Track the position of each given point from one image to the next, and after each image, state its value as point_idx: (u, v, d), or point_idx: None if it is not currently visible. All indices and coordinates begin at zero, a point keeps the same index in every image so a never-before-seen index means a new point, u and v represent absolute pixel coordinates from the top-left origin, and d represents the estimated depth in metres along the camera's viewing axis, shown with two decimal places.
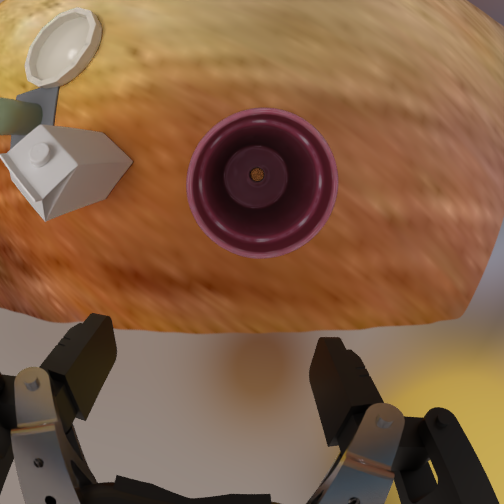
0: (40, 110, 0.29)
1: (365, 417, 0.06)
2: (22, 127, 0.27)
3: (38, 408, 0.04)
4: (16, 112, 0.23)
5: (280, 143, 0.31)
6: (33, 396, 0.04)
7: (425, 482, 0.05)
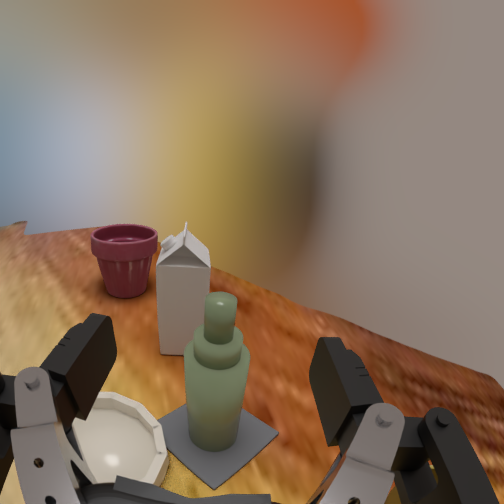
0: None
1: (365, 417, 0.06)
2: None
3: (38, 408, 0.04)
4: None
5: None
6: (33, 396, 0.04)
7: (425, 482, 0.05)
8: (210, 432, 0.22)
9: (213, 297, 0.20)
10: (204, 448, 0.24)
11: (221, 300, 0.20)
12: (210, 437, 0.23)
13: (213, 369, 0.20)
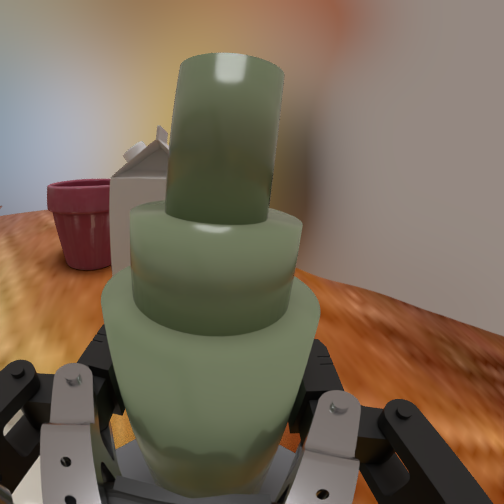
0: None
1: (318, 403, 0.06)
2: None
3: (85, 404, 0.05)
4: None
5: None
6: (72, 393, 0.05)
7: (396, 473, 0.05)
8: None
9: None
10: None
11: None
12: None
13: (196, 334, 0.05)
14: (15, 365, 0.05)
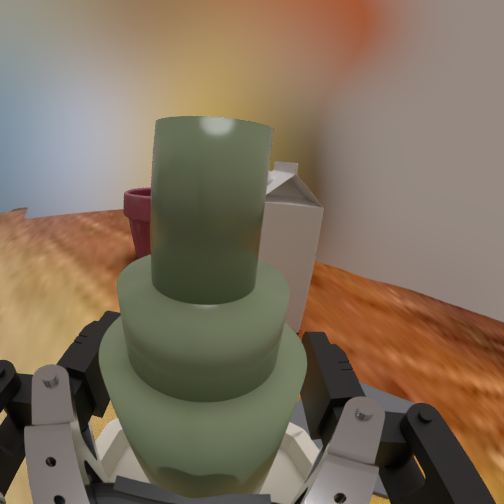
0: None
1: (344, 410, 0.06)
2: None
3: (59, 405, 0.05)
4: None
5: None
6: (51, 394, 0.05)
7: (412, 477, 0.05)
8: None
9: None
10: None
11: None
12: None
13: (187, 400, 0.05)
14: None
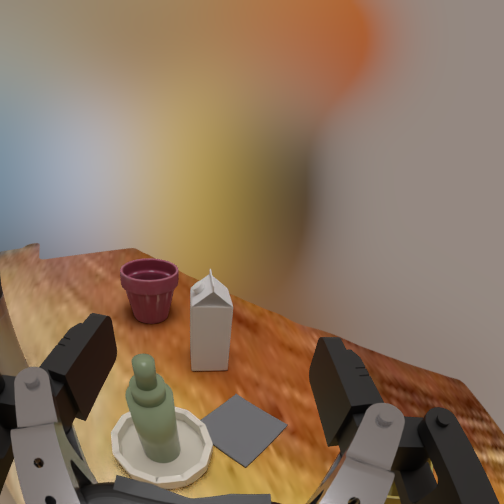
0: None
1: (365, 417, 0.06)
2: None
3: (38, 408, 0.04)
4: None
5: None
6: (33, 396, 0.04)
7: (425, 482, 0.05)
8: (153, 449, 0.27)
9: (138, 359, 0.25)
10: (153, 459, 0.28)
11: (142, 362, 0.25)
12: (154, 452, 0.27)
13: (144, 407, 0.25)
14: None
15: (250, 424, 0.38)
